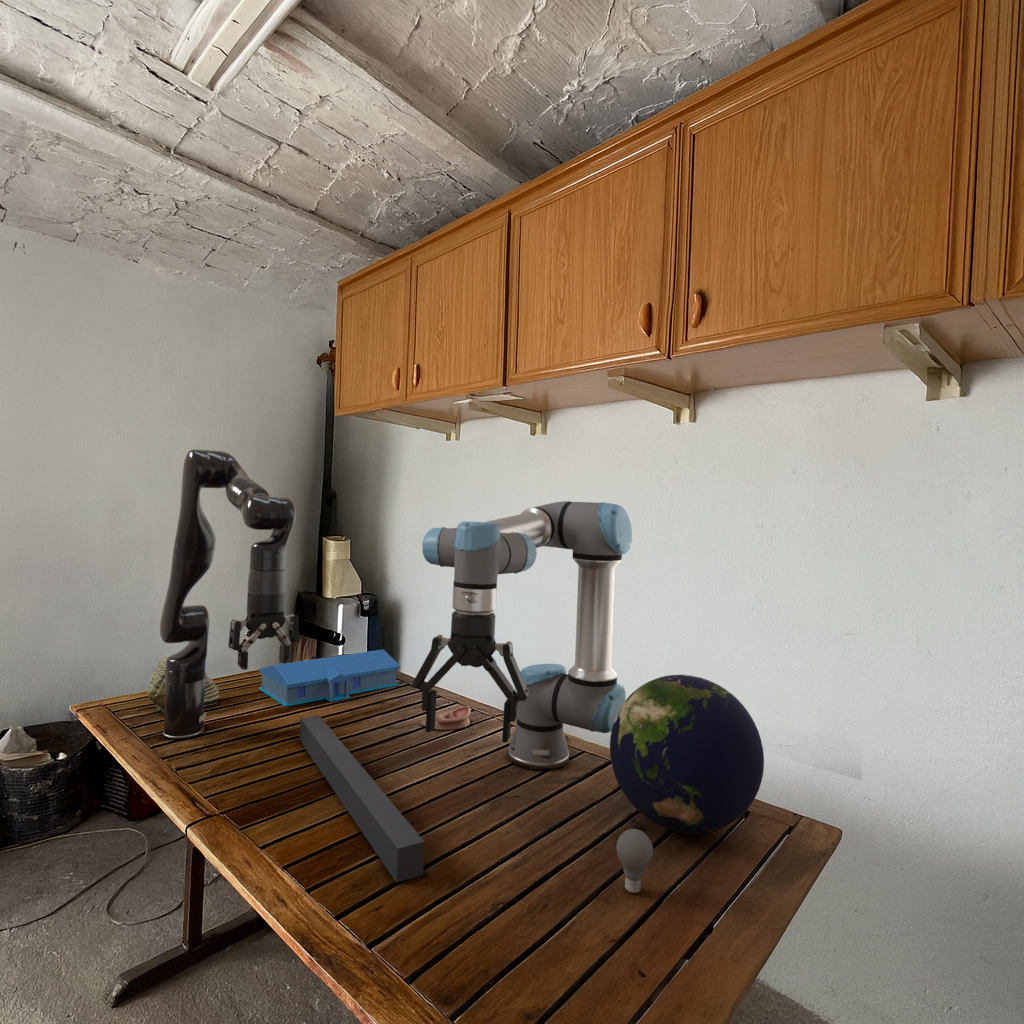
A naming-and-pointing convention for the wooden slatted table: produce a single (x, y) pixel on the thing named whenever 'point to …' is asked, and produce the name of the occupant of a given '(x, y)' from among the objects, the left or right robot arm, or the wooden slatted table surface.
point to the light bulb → (634, 857)
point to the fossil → (158, 687)
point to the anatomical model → (452, 719)
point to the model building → (329, 677)
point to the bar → (364, 801)
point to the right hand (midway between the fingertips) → (467, 734)
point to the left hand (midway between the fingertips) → (263, 665)
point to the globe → (686, 754)
